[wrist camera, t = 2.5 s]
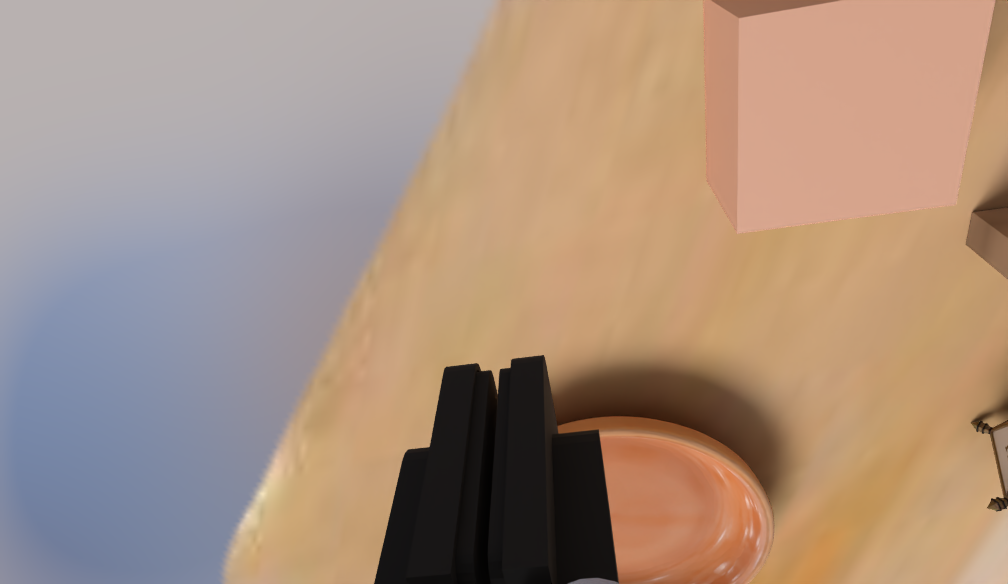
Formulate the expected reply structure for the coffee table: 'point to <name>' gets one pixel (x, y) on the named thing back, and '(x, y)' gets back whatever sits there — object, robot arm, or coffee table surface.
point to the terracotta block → (838, 106)
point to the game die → (998, 458)
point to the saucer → (680, 504)
